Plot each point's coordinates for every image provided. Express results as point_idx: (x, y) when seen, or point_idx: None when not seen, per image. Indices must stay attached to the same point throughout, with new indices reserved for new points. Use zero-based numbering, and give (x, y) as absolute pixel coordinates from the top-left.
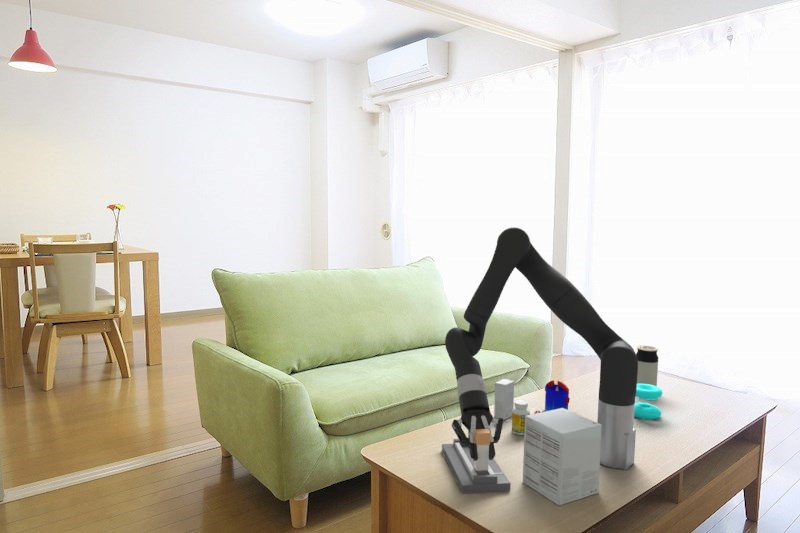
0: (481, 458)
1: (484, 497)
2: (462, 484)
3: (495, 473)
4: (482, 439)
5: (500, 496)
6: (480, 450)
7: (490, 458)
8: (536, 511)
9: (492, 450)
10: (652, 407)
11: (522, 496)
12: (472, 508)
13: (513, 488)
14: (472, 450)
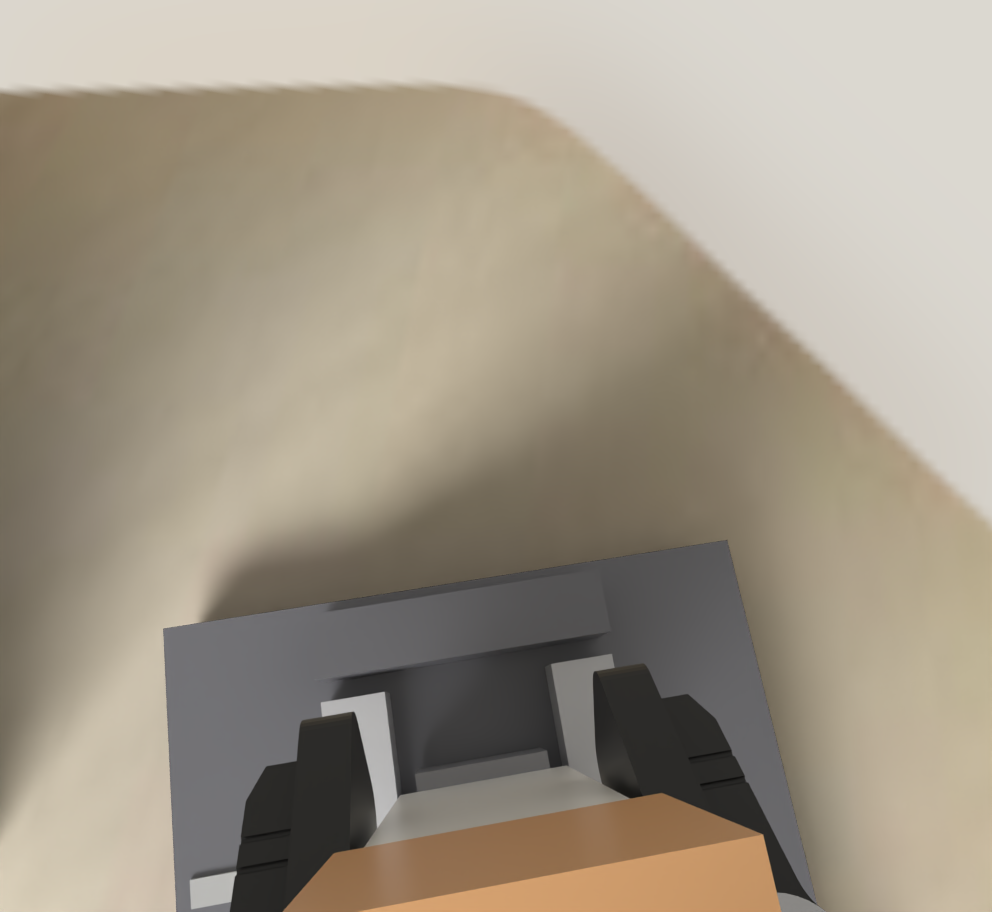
0: (513, 792)
1: (486, 494)
2: (727, 564)
3: None
4: (537, 842)
5: (323, 520)
6: (550, 807)
7: (362, 749)
8: (56, 281)
9: (298, 809)
10: None
11: (96, 531)
12: (614, 307)
13: (140, 697)
14: (716, 783)
